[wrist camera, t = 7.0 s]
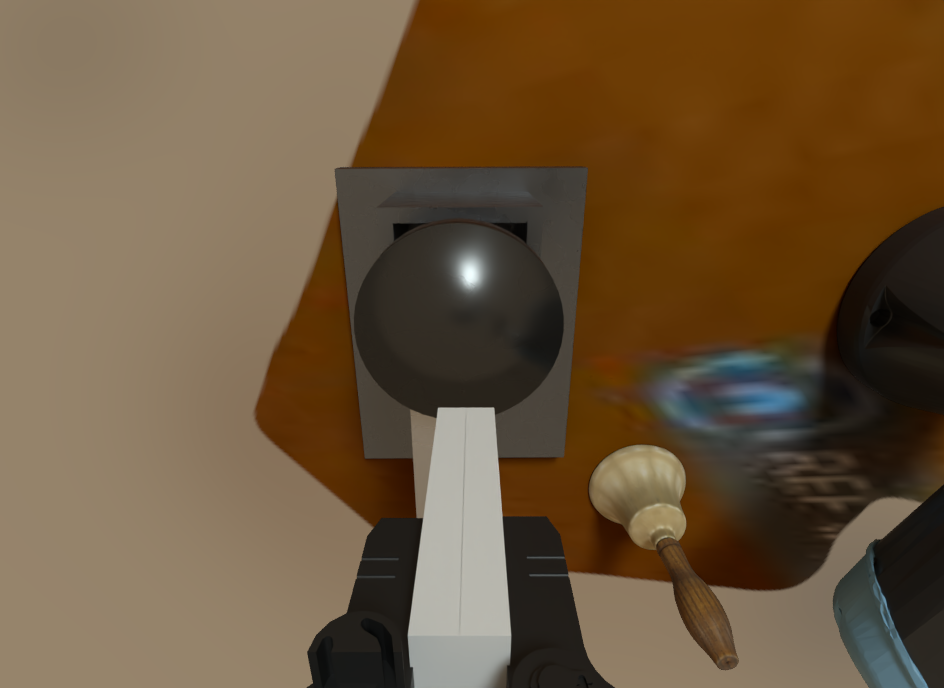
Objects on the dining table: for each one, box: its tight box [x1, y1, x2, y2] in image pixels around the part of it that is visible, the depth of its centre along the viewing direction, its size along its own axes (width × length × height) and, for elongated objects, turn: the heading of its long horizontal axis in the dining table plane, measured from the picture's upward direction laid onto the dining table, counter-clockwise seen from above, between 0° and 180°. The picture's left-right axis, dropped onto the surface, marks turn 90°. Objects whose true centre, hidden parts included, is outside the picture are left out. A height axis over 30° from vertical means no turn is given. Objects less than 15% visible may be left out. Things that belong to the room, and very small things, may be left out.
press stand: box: [335, 166, 588, 459], centre depth 31 cm, size 16×22×14 cm
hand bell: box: [589, 445, 739, 670], centre depth 36 cm, size 8×8×16 cm
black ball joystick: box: [354, 218, 564, 518], centre depth 27 cm, size 9×17×9 cm, turn 0°
